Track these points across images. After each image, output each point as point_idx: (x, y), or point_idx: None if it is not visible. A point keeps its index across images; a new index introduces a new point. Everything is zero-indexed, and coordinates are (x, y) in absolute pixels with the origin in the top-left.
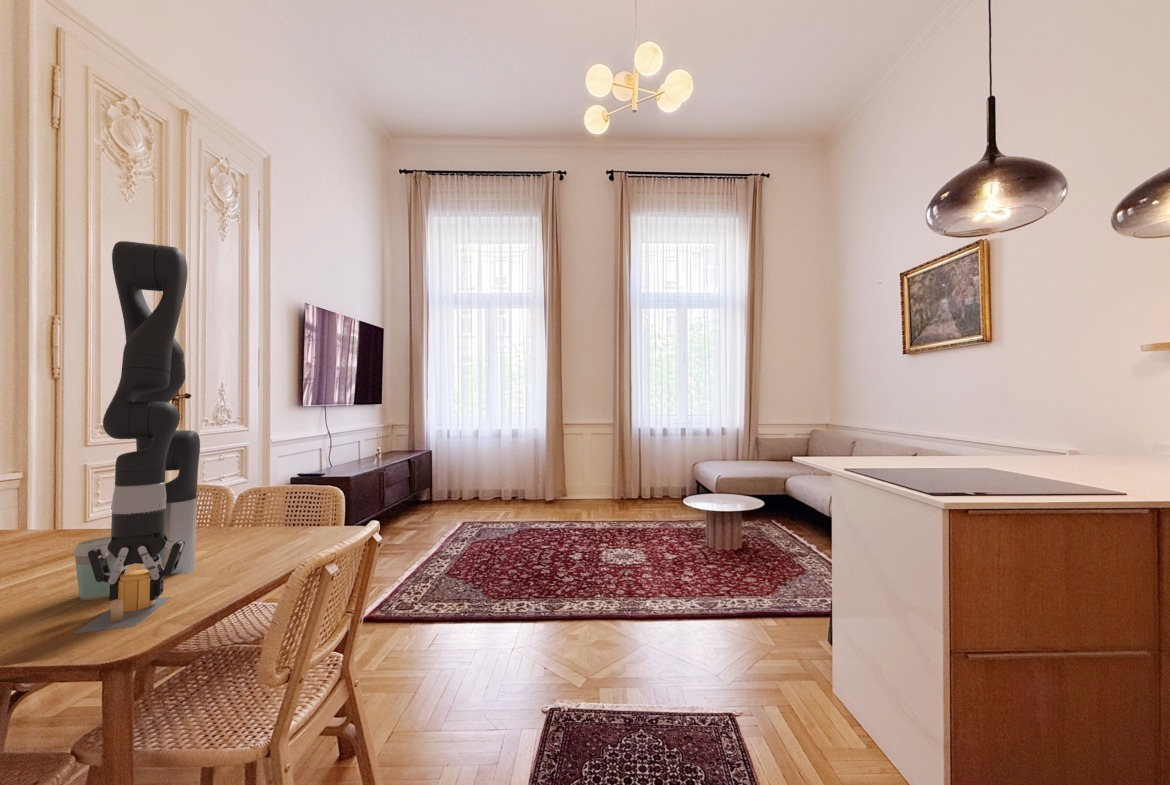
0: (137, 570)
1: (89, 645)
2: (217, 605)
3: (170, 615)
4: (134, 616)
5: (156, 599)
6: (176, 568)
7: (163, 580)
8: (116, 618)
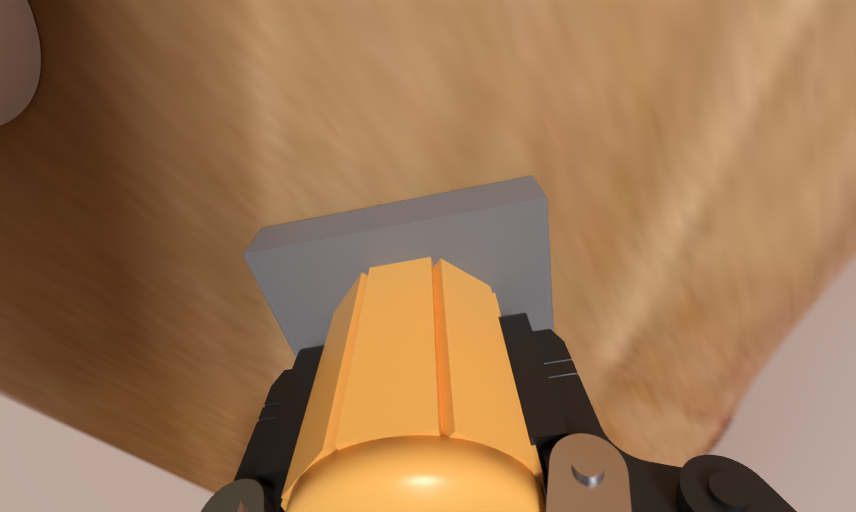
0: (328, 502)
1: None
2: (820, 235)
3: (602, 329)
4: None
5: (470, 237)
6: (765, 484)
7: (594, 413)
8: None
